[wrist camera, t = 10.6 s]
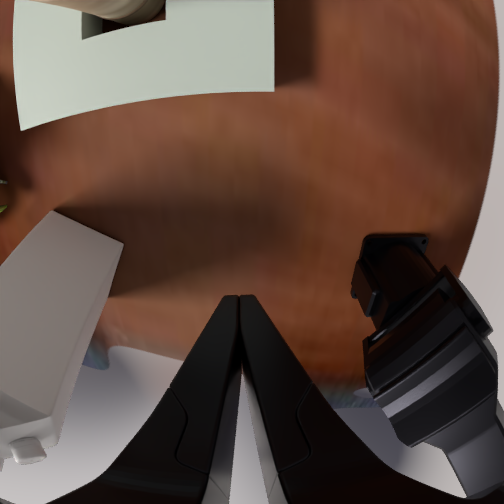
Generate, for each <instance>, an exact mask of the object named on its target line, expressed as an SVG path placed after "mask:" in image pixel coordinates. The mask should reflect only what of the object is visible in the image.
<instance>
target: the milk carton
mask: <svg viewBox="0 0 504 504" xmlns="http://www.w3.org/2000/svg"><path fill="white" fill-rule="evenodd" d="M123 245H124V244H123V243H121V242H119V241H116V240H114V239H112V238H110V237H108V236H106V235H103V234H101V233H99V232H97V231H95V230H93V229H90V228H88V227H86V226H84V225H82V224H80V223H78V222H76V221H73V220H71V219H69V218H67V217H65V216H63V215H61V214H59V213H57V212H55V211H52V210H51V211H50V212H49V213H48V214H47V215H46V216H45V217H44V218H43V219H42V220H41V221H40V222H39V223H38V224H37V225H36V226H35V227H34V228H33V230H32V231H31V232H30V233H29V234H28V235H27V236H26V237H25V238H24V239H23V240H22V242H21V243H20V244H19V245H18V246H17V247H16V248H15V250H14V251H13V252H12V253H11V254H10V256H9V257H8V258H7V259H6V260H5V262H4V263H3V264H2V265H1V266H0V471H2V467H3V463H4V459H7V458H11V457H14V459H15V461H16V463H18V464H21V465H24V464H25V465H26V464H32V463H35V462H39V461H42V460H44V459H45V458H46V457H47V456H46V453H45V451H44V449H46V448H49V447H53V446H56V445H57V444H58V441H59V438H60V433H61V430H62V426H63V423H64V419H65V415H66V412H67V408H68V405H69V402H70V398H71V395H72V392H73V389H74V385H75V382H76V379H77V376H78V373H79V370H80V367H81V365H82V362H83V359H84V356H85V353H86V351H87V348H88V345H89V343H90V340H91V337H92V335H93V332H94V330H95V327H96V325H97V322H98V320H99V317H100V315H101V312H102V310H103V307H104V305H105V303H106V300H107V298H108V295H109V291H110V288H111V284H112V281H113V277H114V274H115V271H116V268H117V264H118V261H119V258H120V255H121V252H122V249H123Z"/></svg>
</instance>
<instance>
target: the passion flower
mask: <svg viewBox="0 0 504 504" xmlns="http://www.w3.org/2000/svg"><path fill="white" fill-rule="evenodd" d="M0 183H3V184H7V181H4V180H0ZM6 207H7V205H3V206H0V212H2V211H3V210H4V209H5V208H6Z"/></svg>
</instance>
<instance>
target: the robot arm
mask: <svg viewBox="0 0 504 504" xmlns="http://www.w3.org/2000/svg"><path fill="white" fill-rule="evenodd" d="M369 241H371V242H370V243H368V242H369ZM427 244H428V238H427V236H426V235H424V234H421V235H369V236H366V237H365V238H364V239H363V242H362V247H361V251H360V256H359V259H358V260H357V262H356V265H355V270H354V274H353V278H352V282H351V285H352V289H351V296H352V298H354V299H358V301H359V303H360V305H361V308H362V310H363V312H364V315H365V316H366V317H371V319H372V321H373V323H374V326H375V328H376V331H375V332H374V333H373V334H372V335H370V336H367V337H366V338H365V339H364V340H363V341H362V342H363V354H364V369H365V380H366V387H367V389H368V390H369V392H370V393H371V395H372V397H373V398H374V400H375V401H376V402H377V403H378V405H379V406H380V407H381V408H382V409H383V411H384V412H385V414H386V415H387V416H388V418H389V420H390V422H391V424H392V426H393V428H394V430H395V432H396V435H397V437H398V439H399V440H400V441H401V442H403V443H404V444H405V445H407V446H408V447H414V446H416V445H418V444H420V443H421V442H425V443H428V444H430V445H432V446H435V447H437V448H440V449H442V450H443V452H444V453H445V455H446V457H447V459H448V461H449V462H450V464H451V466H452V468H453V470H454V472H455V474H456V476H457V478H458V480H459V482H460V484H461V486H462V488H463V490H464V491H465V494H466V496H467V497H466V498H461V497H457V496H454V495H452V494H449V493H446V492H443V491H441V490H438V489H436V488H433V487H430V486H428V485H426V484H423V483H421V482H419V481H416V480H414V479H412V478H409V477H407V476H405V475H403V474H401V473H398V472H397V471H395V470H393V469H392V468H390V467H389V466H388V465H386V464H385V463H384V462H383V461H382V460H380V459H379V458H378V457H377V456H376V455H375V454H374V453H373V452H372V451H371V450H370V449H369V448H368V446H366V444H365V443H364V442H362V440H361V439H360V438H359V437H358V436H357V435H356V434H355V433H354V432H353V431H352V430H351V429H350V428H349V427H348V426H347V425H346V423H345V422H344V421H343V420H342V419H341V418H340V417H339V416H338V415H337V413H336V412H335V411H334V410H333V409H332V407H331V406H330V405H329V403H328V402H327V401H326V399H325V398H324V397H323V395H322V394H321V392H320V391H319V390H318V388H317V387H316V385H315V384H314V383H312V382H313V381H312V380H311V378H310V377H309V375H308V374H307V372H306V371H305V369H304V368H303V367H302V365H301V364H300V362H299V361H298V359H297V358H296V356H295V355H294V353H293V352H292V350H291V349H290V347H289V346H288V344H287V343H286V342H285V340H284V339H283V337H282V336H281V334H280V333H279V331H278V330H277V328H276V327H275V325H274V324H273V322H272V321H271V319H270V318H269V316H268V315H267V313H266V312H265V310H264V309H263V307H262V306H261V304H260V303H259V301H258V300H257V298H256V297H255V296H254V295H252V294H250V295H240V296H238V295H225V296H224V297H223V298H222V299H221V301H220V303H219V304H218V306H217V308H216V309H215V311H214V313H213V314H212V316H211V318H210V319H209V321H208V323H207V324H206V326H205V328H204V329H203V331H202V333H201V334H200V336H199V338H198V339H197V341H196V342H195V344H194V346H193V347H192V349H191V351H190V352H189V354H188V356H187V357H186V359H185V361H184V362H183V364H182V366H181V367H180V369H179V371H178V372H177V374H176V376H175V377H174V379H173V381H172V382H171V384H170V388H168V389H167V391H166V392H165V394H164V395H163V397H162V399H161V400H160V402H159V404H158V405H157V406H156V408H155V409H154V411H153V412H152V414H151V415H150V417H149V418H148V419H147V421H146V422H145V423H144V425H143V426H142V427H141V429H140V430H139V431H138V432H137V434H136V435H135V436H134V438H133V439H132V440H131V441H130V442H129V443H128V445H127V446H126V447H125V448H124V450H123V451H122V452H121V453H120V454H119V456H118V457H117V458H116V459H115V461H114V462H113V463H112V464H111V465H110V466H109V468H108V469H107V470H106V471H105V472H103V474H101V475H100V476H99V477H97V478H96V479H95V480H93V481H92V482H89V483H88V484H86V485H84V486H82V487H80V488H78V489H76V490H74V491H72V492H70V493H68V494H66V495H64V496H61V497H60V498H57V499H55V500H53V501H51V502H48V503H46V504H229V497H230V487H231V477H232V467H233V457H234V446H235V436H236V426H237V416H238V406H239V395H240V385H241V374H242V369H243V376H244V382H245V387H246V393H247V398H248V403H249V408H250V413H251V418H252V424H253V429H254V434H255V439H256V444H257V449H258V454H259V458H260V464H261V469H262V473H263V478H264V483H265V487H266V492H267V497H268V501H269V504H504V411H503V409H502V407H501V405H500V403H499V401H498V399H497V393H498V392H497V391H498V361H497V353H496V351H495V349H494V347H493V345H492V344H491V342H490V341H489V339H488V337H487V336H488V335H490V334H491V333H492V332H493V329H492V327H491V325H490V323H489V321H488V319H487V318H486V316H485V314H484V312H483V310H482V309H481V307H480V306H479V304H478V303H477V301H476V300H475V299H474V297H473V296H472V295H471V293H470V292H469V291H468V290H467V288H466V287H465V286H464V285H463V283H461V281H460V280H459V279H458V278H457V277H456V276H455V275H454V273H453V272H452V271H451V270H450V269H449V268H448V267H447V266H446V265H444V266H443V267H442V268H441V269H440V270H441V271H440V272H439V273H438V271H437V270H436V269H435V268H434V266H433V265H432V264H431V262H430V261H429V260H428V258H427V257H426V256H425V255H424V253H425V250H426V247H427ZM0 504H14V503H11V502H9V501H6V500H4V499H1V498H0Z"/></svg>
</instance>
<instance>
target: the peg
mask: <svg viewBox="0 0 504 504" xmlns="http://www.w3.org/2000/svg"><path fill="white" fill-rule="evenodd" d="M29 1H35V2H41V3H46V4H51V5H56V6H61V7H65V8H70V9H74V10H78V11H82V12H85V13H89V14H93V15H96V16H98V17H100V18H103V19H107V20H113V21H116V22H119V23H122V24H125V25H131V26H132V25H139V24H143V23H145V22H147V21H149V20H151V19H152V18H154V17H155V16H156V15H157V14H158V13H159V12H160V10H161V9H162V7H163V5H164V3H165V0H29Z"/></svg>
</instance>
